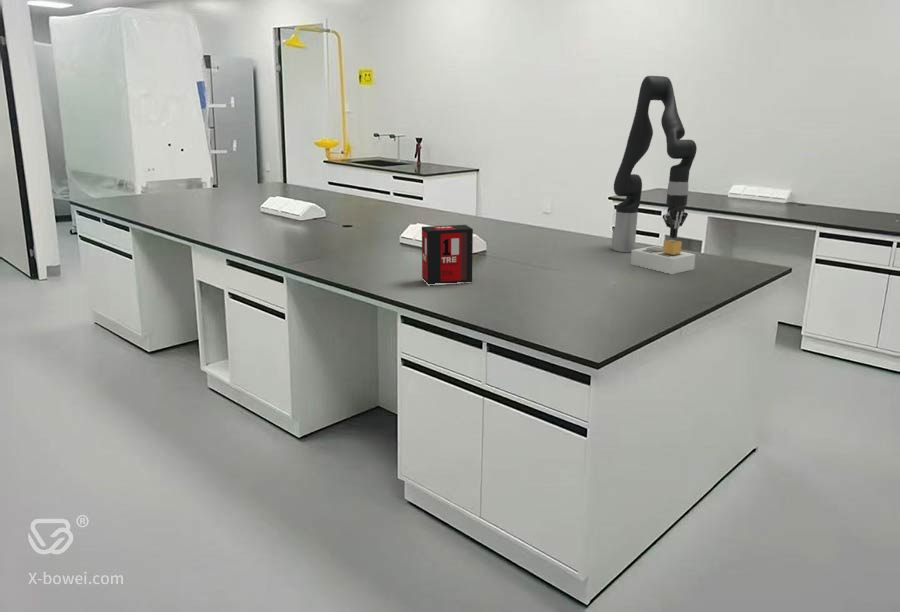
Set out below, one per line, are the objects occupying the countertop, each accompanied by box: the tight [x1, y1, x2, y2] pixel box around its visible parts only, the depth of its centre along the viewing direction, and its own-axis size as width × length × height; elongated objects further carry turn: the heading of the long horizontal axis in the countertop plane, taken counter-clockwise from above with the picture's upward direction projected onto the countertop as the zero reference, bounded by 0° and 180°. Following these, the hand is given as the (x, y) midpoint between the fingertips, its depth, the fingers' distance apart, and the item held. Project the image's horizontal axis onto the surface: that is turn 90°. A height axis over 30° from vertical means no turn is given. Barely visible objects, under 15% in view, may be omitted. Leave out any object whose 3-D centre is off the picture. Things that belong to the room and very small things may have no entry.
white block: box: [645, 246, 663, 253], centre depth 275 cm, size 5×5×4 cm
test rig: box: [629, 245, 696, 275], centre depth 272 cm, size 20×14×6 cm
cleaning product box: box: [421, 224, 474, 284], centre depth 247 cm, size 16×9×20 cm, turn 105°
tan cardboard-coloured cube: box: [662, 239, 683, 255], centre depth 267 cm, size 5×5×4 cm
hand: (673, 237), depth 266 cm, fingers closed
